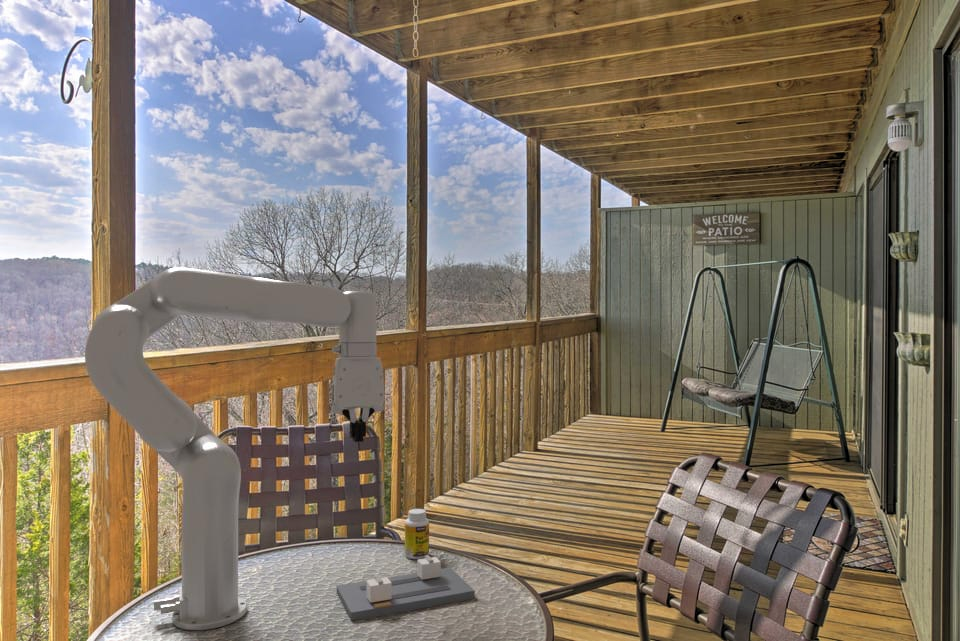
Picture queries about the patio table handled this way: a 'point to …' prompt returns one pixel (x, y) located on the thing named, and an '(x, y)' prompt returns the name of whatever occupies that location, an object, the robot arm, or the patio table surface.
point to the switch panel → (405, 594)
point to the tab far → (428, 567)
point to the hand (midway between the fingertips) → (357, 440)
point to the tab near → (378, 589)
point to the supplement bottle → (416, 534)
